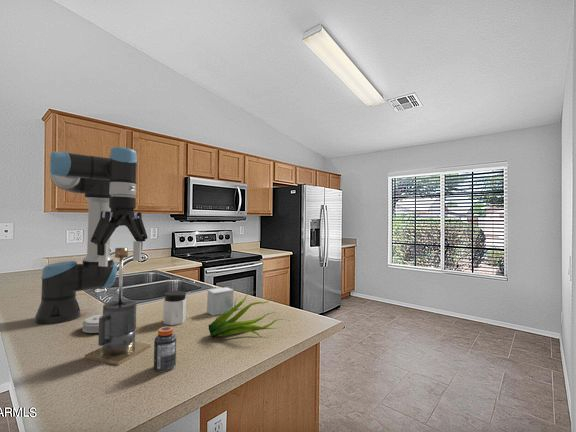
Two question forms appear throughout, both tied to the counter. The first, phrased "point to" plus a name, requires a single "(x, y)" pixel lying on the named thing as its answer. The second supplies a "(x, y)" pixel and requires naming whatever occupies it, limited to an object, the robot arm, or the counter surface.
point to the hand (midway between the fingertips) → (121, 263)
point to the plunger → (121, 268)
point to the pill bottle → (165, 350)
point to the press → (117, 334)
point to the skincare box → (219, 300)
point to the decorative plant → (231, 326)
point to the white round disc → (91, 324)
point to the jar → (174, 308)
